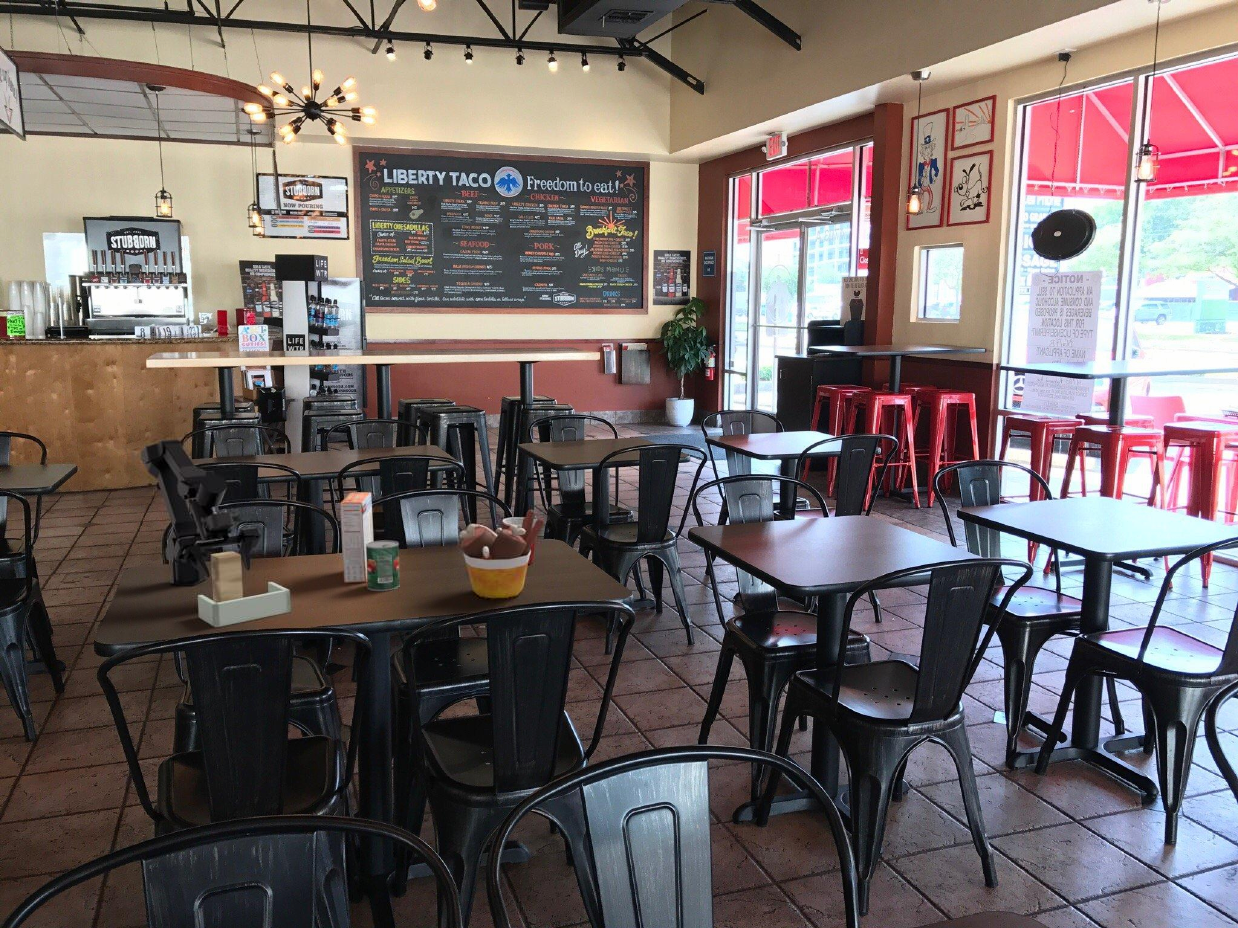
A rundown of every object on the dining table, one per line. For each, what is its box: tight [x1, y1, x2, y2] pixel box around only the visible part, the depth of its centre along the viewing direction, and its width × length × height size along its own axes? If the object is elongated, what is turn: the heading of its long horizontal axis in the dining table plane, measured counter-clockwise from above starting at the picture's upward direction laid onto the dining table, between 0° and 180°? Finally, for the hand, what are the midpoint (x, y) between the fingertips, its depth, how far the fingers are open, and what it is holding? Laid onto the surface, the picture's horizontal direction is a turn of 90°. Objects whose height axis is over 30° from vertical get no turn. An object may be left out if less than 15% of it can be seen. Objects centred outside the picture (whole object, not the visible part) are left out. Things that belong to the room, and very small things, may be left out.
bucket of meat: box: [458, 509, 545, 600], centre depth 236 cm, size 20×16×20 cm
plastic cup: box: [502, 516, 538, 565], centre depth 265 cm, size 11×11×12 cm
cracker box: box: [339, 491, 374, 584], centre depth 250 cm, size 14×6×21 cm, turn 5°
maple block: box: [210, 550, 244, 603], centre depth 225 cm, size 5×5×12 cm
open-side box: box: [197, 581, 292, 628], centre depth 219 cm, size 10×17×5 cm, turn 133°
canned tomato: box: [366, 540, 401, 592], centre depth 241 cm, size 8×8×11 cm
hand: (228, 573), depth 224 cm, fingers open, 9 cm apart
